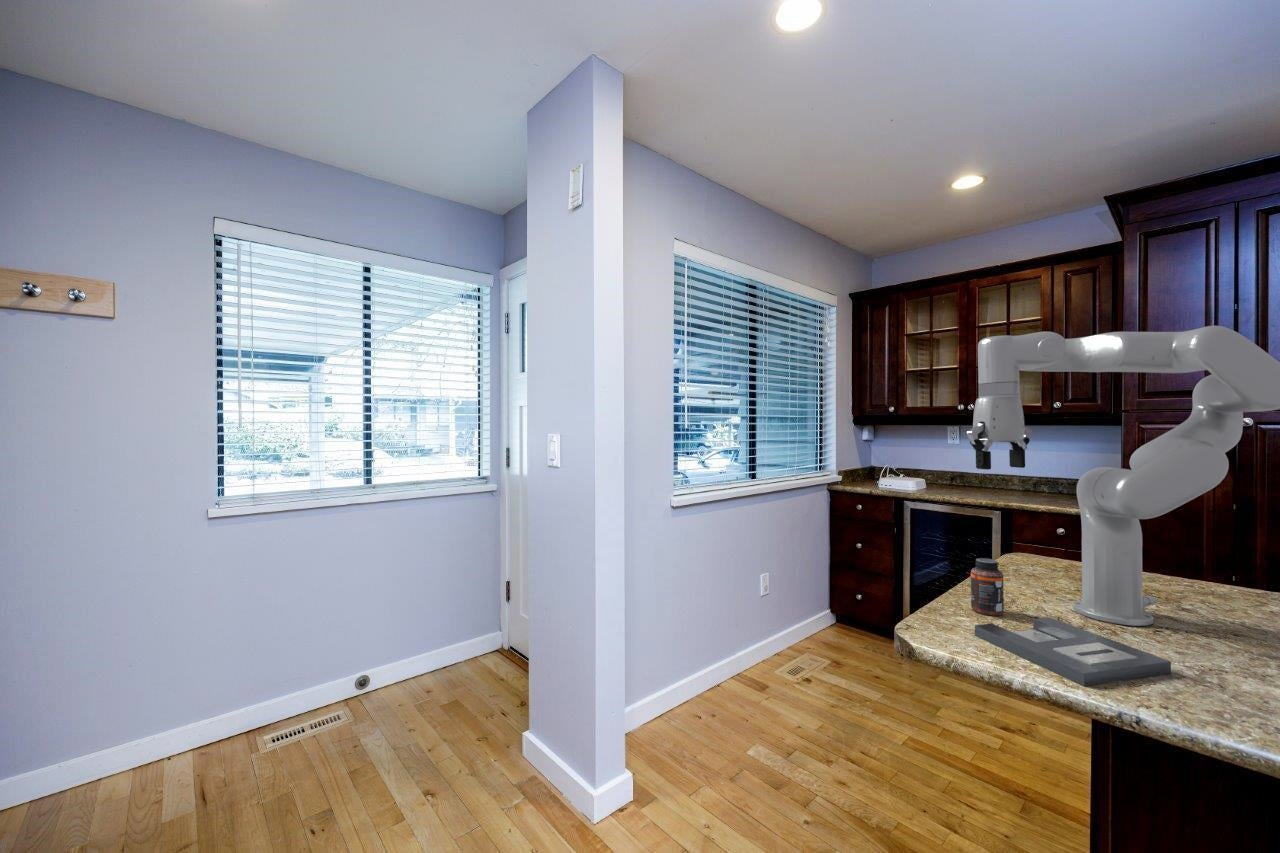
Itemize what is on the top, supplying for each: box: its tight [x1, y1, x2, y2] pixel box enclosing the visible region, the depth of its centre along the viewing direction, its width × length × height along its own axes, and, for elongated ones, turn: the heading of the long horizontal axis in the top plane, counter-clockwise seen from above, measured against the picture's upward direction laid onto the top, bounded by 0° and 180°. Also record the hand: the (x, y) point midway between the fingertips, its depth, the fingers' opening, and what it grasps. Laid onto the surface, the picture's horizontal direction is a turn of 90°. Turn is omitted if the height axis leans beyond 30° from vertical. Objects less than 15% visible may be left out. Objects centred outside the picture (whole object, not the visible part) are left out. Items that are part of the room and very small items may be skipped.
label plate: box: [974, 617, 1172, 687], centre depth 92 cm, size 18×20×2 cm
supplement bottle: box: [970, 557, 1005, 617], centre depth 112 cm, size 6×6×11 cm
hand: (1000, 468), depth 114 cm, fingers open, 9 cm apart
